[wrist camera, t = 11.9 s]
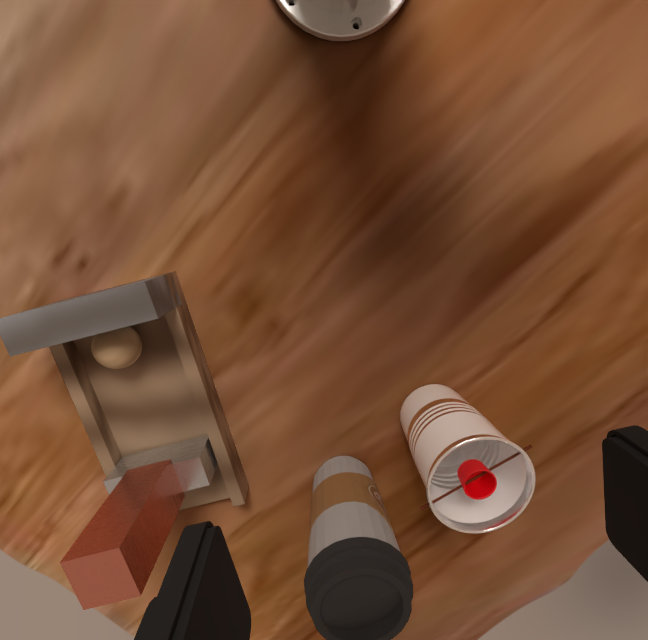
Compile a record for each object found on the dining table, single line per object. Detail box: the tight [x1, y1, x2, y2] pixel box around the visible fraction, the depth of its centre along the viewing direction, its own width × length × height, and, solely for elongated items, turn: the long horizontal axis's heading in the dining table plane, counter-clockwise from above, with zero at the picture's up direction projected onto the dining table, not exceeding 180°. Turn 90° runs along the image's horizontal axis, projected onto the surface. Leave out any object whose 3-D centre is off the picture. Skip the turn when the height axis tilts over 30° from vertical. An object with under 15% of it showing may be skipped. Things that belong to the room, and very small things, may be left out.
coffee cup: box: [304, 456, 413, 640], centre depth 35 cm, size 8×8×15 cm
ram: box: [60, 435, 218, 610], centre depth 33 cm, size 4×9×14 cm, turn 104°
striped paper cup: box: [400, 384, 536, 533], centre depth 36 cm, size 10×8×12 cm
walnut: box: [91, 326, 142, 369], centre depth 35 cm, size 4×4×4 cm
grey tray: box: [0, 271, 249, 510], centre depth 36 cm, size 24×12×7 cm, turn 14°
